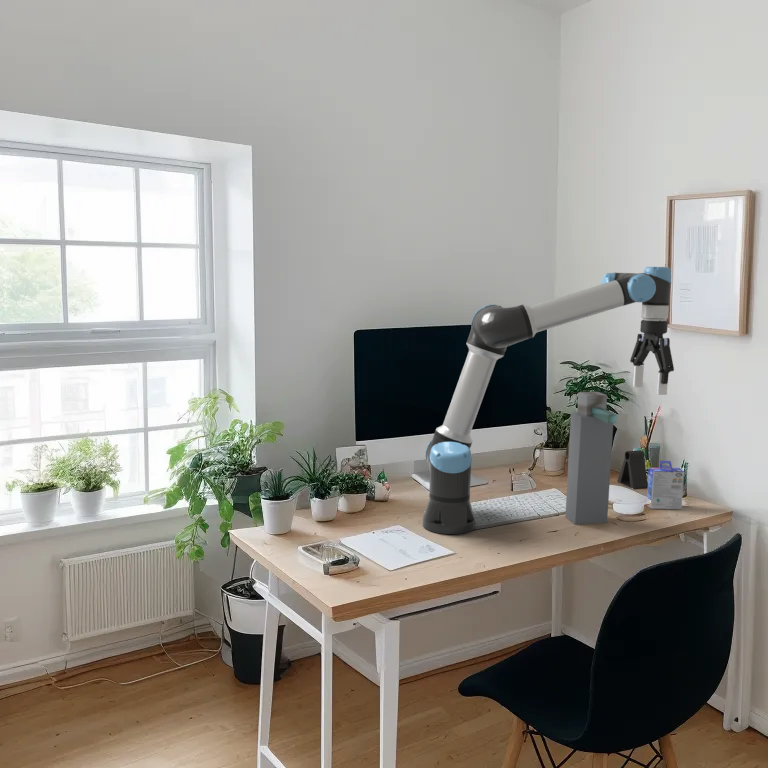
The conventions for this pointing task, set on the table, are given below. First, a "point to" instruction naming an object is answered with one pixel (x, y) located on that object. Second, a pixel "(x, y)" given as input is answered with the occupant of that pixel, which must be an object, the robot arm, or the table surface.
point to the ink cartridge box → (665, 487)
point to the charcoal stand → (588, 469)
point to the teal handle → (595, 406)
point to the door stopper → (633, 470)
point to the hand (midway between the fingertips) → (649, 390)
